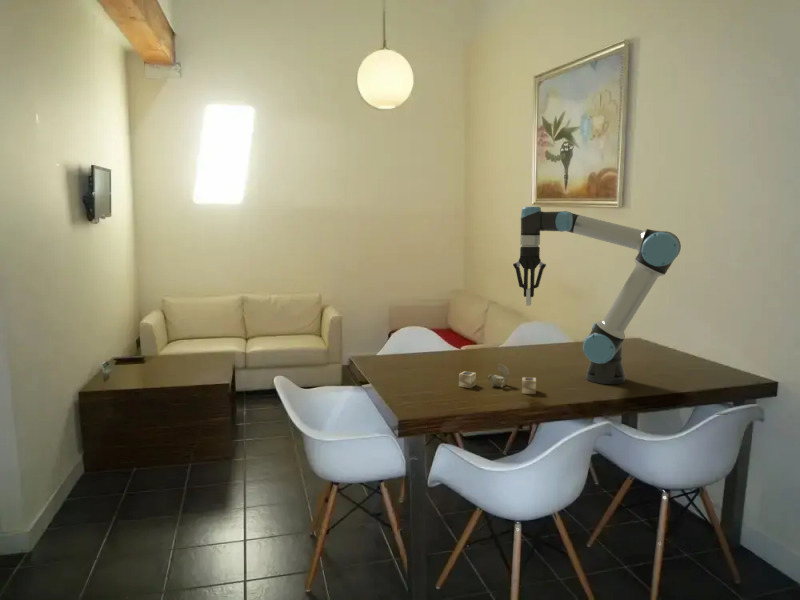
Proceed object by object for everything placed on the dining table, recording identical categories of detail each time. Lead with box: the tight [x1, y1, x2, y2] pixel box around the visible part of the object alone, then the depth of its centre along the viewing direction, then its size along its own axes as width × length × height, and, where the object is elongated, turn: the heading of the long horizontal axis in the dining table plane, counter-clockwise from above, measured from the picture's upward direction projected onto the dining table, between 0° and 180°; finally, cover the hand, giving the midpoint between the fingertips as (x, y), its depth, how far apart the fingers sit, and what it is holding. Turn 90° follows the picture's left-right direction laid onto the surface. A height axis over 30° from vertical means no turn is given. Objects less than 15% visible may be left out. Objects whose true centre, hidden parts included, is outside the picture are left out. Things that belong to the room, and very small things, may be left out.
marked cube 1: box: [458, 370, 477, 389], centre depth 243 cm, size 5×5×5 cm
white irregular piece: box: [487, 363, 510, 389], centre depth 242 cm, size 9×6×10 cm
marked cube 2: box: [521, 376, 537, 395], centre depth 235 cm, size 5×5×5 cm
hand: (528, 305), depth 249 cm, fingers closed
